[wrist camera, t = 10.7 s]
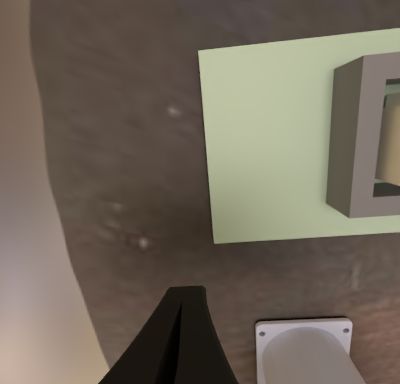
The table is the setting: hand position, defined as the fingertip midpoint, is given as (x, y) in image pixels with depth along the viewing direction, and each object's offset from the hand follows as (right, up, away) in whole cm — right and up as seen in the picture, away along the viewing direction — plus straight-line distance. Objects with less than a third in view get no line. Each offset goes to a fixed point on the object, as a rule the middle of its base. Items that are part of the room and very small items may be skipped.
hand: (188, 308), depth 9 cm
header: (+9, +8, +7) cm, 14 cm away
